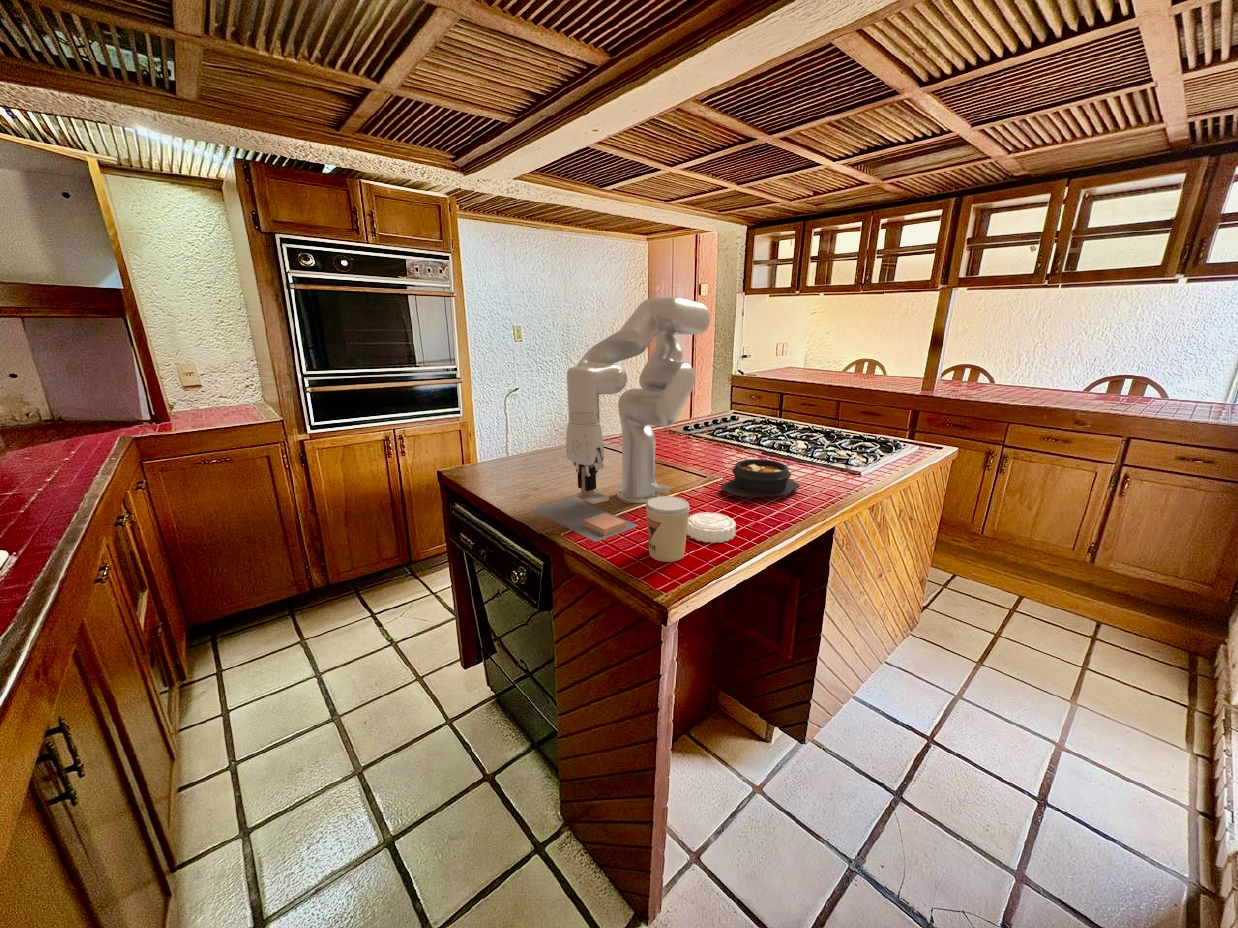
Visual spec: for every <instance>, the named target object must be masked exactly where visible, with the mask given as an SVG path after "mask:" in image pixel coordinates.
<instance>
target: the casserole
mask: <svg viewBox="0 0 1238 928" xmlns="http://www.w3.org/2000/svg"><path fill="white" fill-rule="evenodd" d="M731 472H732V473H733V475H734V478H733V479H731V480H730V481H728V482H725V483H723V484H721V485H720V486H719V488H720V489H721V490H722V491H724V492H726V493H727V494H730V495H733V496H736V497H740V498H765V499H768V498H775V497H782V496H783V497H784V496H786V495H788V494H791V493H792V492H793V491H795V490H796V489H799V488H800V486H801V485H800V484H799V483H798V482H796V481H795V480H793V479H791V476H792V473H791V472H790V470H789V466H788V465H786V464H785V463H782V462H780V461H775V460H769V459H762V458H761V459H759V458H757V459H755V458H754V459H753V458H752V459H751V458H750V459H744V460H740V461H737V462H736V464H735V466H734V467H733V468H732V470H731Z"/></svg>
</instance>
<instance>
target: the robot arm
mask: <svg viewBox="0 0 1238 928" xmlns="http://www.w3.org/2000/svg"><path fill="white" fill-rule="evenodd" d="M710 322H711V314H710V311H709V309H708V307H707V306H706V305H705V304H703V303H702V302H699V301H693V300H689V299H686V298H683V297H676V296H674V297H673V296H671V297H652V298H647V299H645V300H643V301H642V302H641V303H640V304H639V305H638V306H637V308H636V309H635V310H634V312H632V314H631V315H630V317H629V318H628V319H627V320H626V322H624V324H623V325H622V327H621V328H620V329H619V330H618V331H616V332H614V333H612V334H611V335H610V336H608V337H606V338H604V339H602V340H601V341H599V342H597V343H596V344H595V345H593V346H592V347H591V348H590V349H588V350H587V351H586V353H585V354H584V355H583V356H582V358H581V359H580V360H579V362H578V363H577V364H576V366H571V367H570V368H568V369H567V372H566V385H567V386H566V387H567V404H568V405H567V410H568V422H567V427H566V437H565V439H566V441H565V442H566V443H565V445H566V446H565V448H566V450H565V451H566V453H565V454H566V458H567V460H569V461H570V462H571V463H572V464H573V465H574V467H575V473H576V474H577V488H579V489H581V483H582V467H583V466H586V476H585V490H586V491H590V490H593V489H594V490H596V489H597V474H598V473H599V471H601V470H604V468H605V467H604V463H603V462H604V458H605V453H604V452H605V450H604V438H603V433H602V427H601V423H600V422H601V421H600V419H601V418H600V416H601V415H600V395H615V394H618V393H619V392H621V391H623V390H624V389H625V387H626V386H627V382H628V376H627V375H628V374H627V372H626V370H625V369H624V368H623V367H622V366H621V365H618V364H616V363H618V362H622V361H626V360H629V359H632V358H635V357H637V356H639V355H641V354H643V353H644V352H645V351H646V349H647V348H648V347H649V345H650V344H651V343H652V341H654V339H655V341H656V343H655V347H654V349H653V352H652V354H651V355H650V356H649V358H648V360H647V362H646V363H645V365H644V367H643V368H642V370H641V372H640V376H639V380H638V382H639V385H640V388H630V389H628V390H625V391H624V392H622V394H621V395H620V397H619V399H618V402H617V403H618V404H617V408H618V415H619V419H620V426H621V465H622V466H621V470H622V471H621V474H622V475H621V476H622V477H621V479H622V480H621V481H622V482H621V483H622V484H621V485H622V487H621V488H620V489H619V490H617V492H616V498H617V499H618V500H620V501H622V502H624V503H629V504H647V502H648V501H649V500H650V499H652V498H655V497H660V496H661V494H670V493H671V488H670V487H671V486H667V484H659V483H657V479H656V436H655V432H654V429H653V427H652V426H655V427H663V428H667V427H671V426H672V425H673V424H674V423H675V422H676V421H677V420H678V418H679V416H680V414H681V412H682V410H683V408H684V407H685V405H686V403H687V401H688V399H689V397H690V395H691V393H692V391H693V389H694V385H695V379H696V377H695V370H694V368H693V367H692V365H691V364H689V363H688V362H685V361H682V359H683V356H684V355H683V348H682V346H681V344H680V342H679V340H678V337H677V335H701V334H703V333H705V331H707V330H708V328H709V326H710ZM591 466H592V468H591V469H590V467H591ZM660 493H661V494H660Z"/></svg>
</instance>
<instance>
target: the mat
mask: <svg viewBox="0 0 1238 928" xmlns="http://www.w3.org/2000/svg"><path fill="white" fill-rule="evenodd" d="M531 511H533V512H535V513H537V514H539V515H541V516H543V517H545V518H547V519H549V520H551V521H553V522H555V523H556V524H558V525H560V526H563V527H565V528H567V529H569V530H571V531H572V532H574V533H577V534H578V535H580V536H583V537H584V538H586V539H589V541H593V542H594V543H598V542H600V541H603V540H605V539H608V538H610V537H613V536H615V535H618V534H621V533H624V532H627V531H629V530H632V529H635V528H636V527H639V524H636V523H634V522H631V521H629V520H626V519H624V518H621V517H619V516H617V515H616V514H612V513H611V512H607V511H605V510H603V509H600V508H598V507H596V506H593V505H590V504H588V503H586V502H584V501H581V500H579V499H577V498H575V497H570V498H566V499H562V500H559V501H555V502H552V503H549V504H544V505H542V506H537V507H535V508H532V509H531ZM603 513H607V514H609V515H611V516H614V517H616V518H618V519H621V520H623V521H625V522H626V528H624V529H622V530H619V531H616V532H614V533H611V534H608V535H605V536H604V535H602V534H600V533H598V532H596V531H594V530H592V529H590V528H587V527H585V526H584V520H585V519H588V518H591V517H594V516H597V515H600V514H603Z"/></svg>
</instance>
